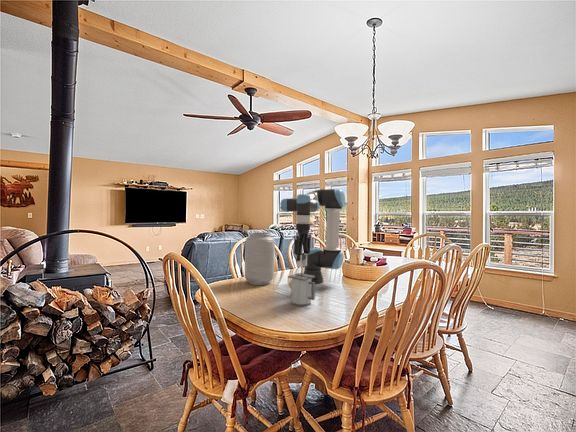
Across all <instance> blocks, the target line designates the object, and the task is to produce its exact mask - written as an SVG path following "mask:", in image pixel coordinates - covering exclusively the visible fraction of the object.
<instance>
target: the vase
mask: <svg viewBox="0 0 576 432" xmlns="http://www.w3.org/2000/svg"><path fill="white" fill-rule="evenodd" d="M275 242H276V241H275V238H274V237H272V236H271V233H268V232H251V233H249V236H247V237H246V238H245V242H244V244H245V245H244V277H245V280H246V281H247V282H248V284H249V285H253V286H263V285H269V284H270V282H272V281H273V279H274V277H275V260H276V259H275V257H276V256H275V254H276V253H275V252H276V251H275V250H276V246H275V245H276V243H275Z"/></svg>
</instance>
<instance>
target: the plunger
mask: <svg viewBox="0 0 576 432" xmlns="http://www.w3.org/2000/svg"><path fill="white" fill-rule="evenodd" d="M301 255H302V267H300V273H301V276H302V277H303V273H304V271H303V270H304V269H303V268H304V266H303V260H305V259H306V253H303V252H301Z"/></svg>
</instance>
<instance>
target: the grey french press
mask: <svg viewBox="0 0 576 432" xmlns="http://www.w3.org/2000/svg"><path fill="white" fill-rule="evenodd" d="M287 278H289V279H291V280H292V287H291V296H290V297H291V301H290V303H291V305H293V306H296V307H308V306H311V303H312V301H315V299H316V298H315V297H316V284H315V282H311V279H312V278H315V276H313V275H308V274H303V277H302V276H301V272H298V273H295V274H290V275H288V276H287Z"/></svg>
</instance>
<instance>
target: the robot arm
mask: <svg viewBox="0 0 576 432" xmlns="http://www.w3.org/2000/svg"><path fill="white" fill-rule="evenodd" d="M279 205H280V206H279V207H280V209H281V211H282V212H296V216H295V222H296V223H295V230H296V231H297V233H296V234H295V235H293V242H294V243H293V254H295V255H296V267H297V268H301V267H302V255H301V253H306V259H305V260H303V267H304V269H303V270H304V271H303V274H308V275H313V276H315V278H312V279H311V282H315V285H317V284H322V283H323V284H324V276H323V273H322V269H324V268H325V269H331V270H340V268H341V267H342V265H343V262H344V252H342V250H341V248H340V242H339V241H340V218H341V217H340V215H341V213H340V212H341V211H342V210H343V207H345V205H346V195H345V192H344V191H343V189H339V188H333V189H332V188H327V189H323V188H322V189H321V188H320V189H316V190H313V191H308V192H307V193H306V194H297V195H296V197H292V198H282V199H281V201H280V204H279ZM320 207H324V210H326V235H325V247H323V249H322V248H321V247H316V248H315V247H314V248H311V243H312V242H311V238H312V234H309V231H310V230H311V224H310V223H311V213H314V212H315V213H316V212H318V211H319V210H320V209H319V208H320ZM302 251H303V252H302Z"/></svg>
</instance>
